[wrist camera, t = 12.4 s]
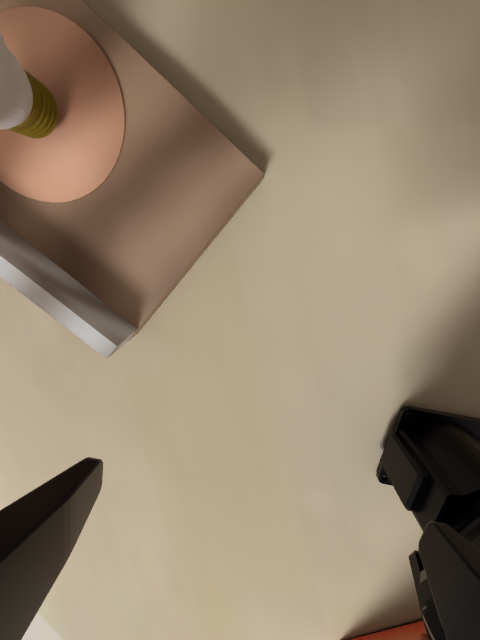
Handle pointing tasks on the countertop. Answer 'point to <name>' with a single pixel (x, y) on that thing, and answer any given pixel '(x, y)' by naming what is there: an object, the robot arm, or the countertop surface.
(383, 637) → the cracker box
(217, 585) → the countertop surface
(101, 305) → the board
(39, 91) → the light bulb
